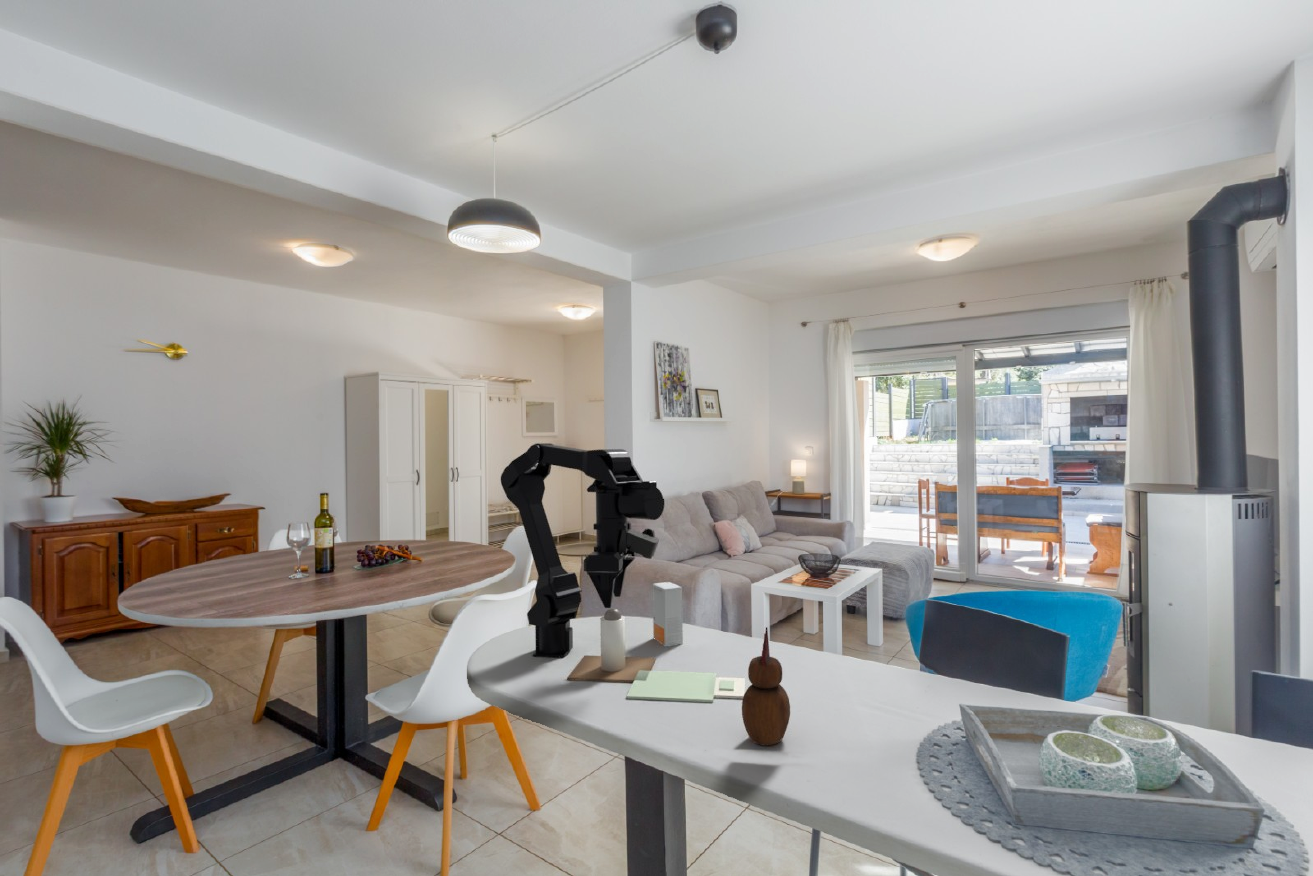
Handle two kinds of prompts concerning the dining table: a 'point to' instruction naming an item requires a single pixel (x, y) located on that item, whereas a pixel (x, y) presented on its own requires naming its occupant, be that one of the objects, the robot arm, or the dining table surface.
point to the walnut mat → (592, 672)
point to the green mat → (674, 686)
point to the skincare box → (667, 613)
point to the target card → (729, 688)
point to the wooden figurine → (765, 700)
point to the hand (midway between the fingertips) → (612, 602)
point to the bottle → (612, 641)
